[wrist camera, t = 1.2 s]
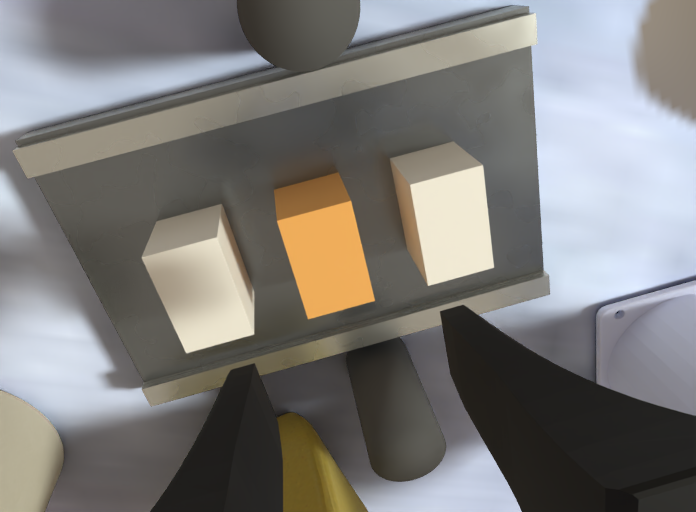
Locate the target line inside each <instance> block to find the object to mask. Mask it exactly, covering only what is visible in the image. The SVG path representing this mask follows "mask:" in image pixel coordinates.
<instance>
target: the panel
mask: <svg viewBox="0 0 696 512" xmlns="http://www.w3.org/2000/svg"><path fill="white" fill-rule="evenodd" d="M535 44H537V27H536V13H529V6H519V5H512V6H509V7H505V8H501V9H497V10H493V11H489V12H486V13H482V14H478V15H474V16H470V17H467V18H463V19H459V20H455V21H451V22H447V23H444V24H440V25H436V26H432V27H428V28H424V29H421V30H417V31H413V32H409V33H405V34H402V35H398V36H394V37H390V38H386V39H382V40H379V41H375V42H371V43H367V44H363V45H359V46H356V47H352V48H348V49H346V50H345V51H344V52H343V53H342V54H341V55H340V56H339V57H338V58H337V59H336V60H334V61H333V62H331V63H330V64H328V65H326V66H324V67H322V68H319V69H316V70H312V71H303V72H298V71H290V70H286V69H282V68H280V67H275V68H272V69H268V70H264V71H260V72H256V73H252V74H249V75H245V76H241V77H237V78H233V79H229V80H226V81H222V82H218V83H214V84H210V85H207V86H203V87H199V88H195V89H191V90H187V91H184V92H180V93H176V94H172V95H168V96H164V97H161V98H157V99H153V100H149V101H145V102H142V103H138V104H134V105H130V106H126V107H122V108H119V109H115V110H111V111H107V112H103V113H100V114H96V115H92V116H88V117H84V118H80V119H77V120H73V121H69V122H65V123H61V124H57V125H54V126H50V127H46V128H42V129H38V130H35V131H31V132H28V133H26V134H25V135H23V136H22V137H20V138H19V139H17V140H16V141H15V142H16V144H17V145H18V147H17V148H15V149H14V150H12V151H13V153H14V155H15V157H16V159H17V160H18V162H19V164H20V166H21V168H22V170H23V172H24V173H25V175H26V177H27V179H29V178H32V177H35V179H36V181H37V183H38V185H39V187H40V188H41V190H42V192H43V194H44V196H45V198H46V200H47V202H48V203H49V205H50V207H51V209H52V211H53V213H54V215H55V217H56V218H57V220H58V222H59V224H60V226H61V228H62V230H63V232H64V233H65V235H66V237H67V239H68V241H69V243H70V245H71V246H72V248H73V250H74V252H75V254H76V256H77V258H78V260H79V261H80V263H81V265H82V267H83V269H84V271H85V273H86V275H87V276H88V278H89V280H90V282H91V284H92V286H93V288H94V290H95V291H96V293H97V295H98V297H99V299H100V301H101V303H102V304H103V306H104V308H105V310H106V312H107V314H108V316H109V318H110V319H111V321H112V323H113V325H114V327H115V329H116V331H117V333H118V334H119V336H120V338H121V340H122V342H123V344H124V346H125V347H126V349H127V351H128V353H129V355H130V357H131V359H132V361H133V362H134V364H135V366H136V368H137V370H138V372H139V374H140V376H141V377H142V379H143V381H144V383H143V386H142V391H143V393H144V395H145V397H146V398H147V400H148V402H149V404H150V406H151V407H152V406H155V405H159V404H162V403H166V402H169V401H173V400H176V399H180V398H184V397H187V396H191V395H194V394H198V393H201V392H205V391H208V390H212V389H216V388H219V387H222V386H223V384H224V382H225V380H226V377H227V375H228V373H229V372H230V370H232V369H235V368H239V367H242V366H246V365H249V364H253V363H255V365H256V368H257V370H258V373H259V375H260V376H262V375H265V374H269V373H272V372H276V371H280V370H283V369H287V368H290V367H294V366H297V365H301V364H304V363H308V362H312V361H315V360H319V359H322V358H326V357H329V356H333V355H336V354H340V353H344V352H347V351H351V350H354V349H358V348H361V347H365V346H369V345H372V344H376V343H379V342H383V341H386V340H390V339H393V338H397V337H401V336H404V335H408V334H411V333H415V332H418V331H422V330H425V329H429V328H433V327H436V326H440V325H442V322H441V316H440V311H442V310H446V309H449V308H453V307H456V306H460V305H465V306H466V307H468V308H469V309H471V310H472V311H474V312H475V313H476V314H478V315H479V314H482V313H486V312H489V311H493V310H497V309H500V308H504V307H507V306H511V305H514V304H518V303H521V302H525V301H529V300H532V299H536V298H539V297H543V296H546V295H550V285H549V275H548V274H547V273H546V272H545V271H544V269H543V252H542V234H541V216H540V198H539V180H538V162H537V144H536V126H535V108H534V90H533V72H532V54H531V46H532V45H535ZM449 142H455V143H456V144H457V145H458V146H460V147H461V148H462V149H464V150H465V151H466V152H467V153H469V154H470V155H471V156H472V157H474V158H475V159H476V160H477V161H479V162H480V163H481V164H482V165H483V169H484V179H485V188H486V197H487V207H488V216H489V225H490V235H491V244H492V253H493V263H494V268H491V269H488V270H484V271H480V272H477V273H473V274H470V275H466V276H462V277H459V278H455V279H452V280H448V281H444V282H441V283H437V284H434V285H430V286H428V285H427V283H426V281H425V280H424V278H423V276H422V274H421V273H420V271H419V269H418V267H417V266H416V264H415V262H414V261H413V259H412V257H411V255H410V254H409V252H408V250H407V245H406V240H405V235H404V230H403V225H402V219H401V214H400V209H399V204H398V199H397V194H396V189H395V183H394V178H393V173H392V168H391V163H390V158H393V157H397V156H401V155H405V154H408V153H412V152H416V151H419V150H423V149H427V148H430V147H434V146H438V145H442V144H445V143H449ZM338 172H339V175H340V177H341V179H342V181H343V184H344V186H345V188H346V190H347V193H348V195H349V197H350V199H351V202H352V206H353V211H354V215H355V219H356V223H357V227H358V232H359V236H360V240H361V244H362V248H363V253H364V257H365V261H366V265H367V269H368V273H369V278H370V282H371V286H372V290H373V294H374V299H375V301H373V302H369V303H365V304H362V305H358V306H355V307H351V308H347V309H344V310H340V311H337V312H333V313H329V314H326V315H322V316H319V317H315V318H312V319H308V317H307V314H306V311H305V308H304V305H303V302H302V298H301V295H300V292H299V289H298V286H297V283H296V280H295V276H294V273H293V270H292V267H291V264H290V261H289V258H288V254H287V251H286V248H285V245H284V242H283V239H282V235H281V232H280V229H279V226H278V223H277V217H276V206H275V196H274V190H275V189H278V188H282V187H286V186H289V185H293V184H297V183H301V182H304V181H308V180H312V179H315V178H319V177H323V176H327V175H330V174H334V173H338ZM219 204H222V205H223V208H224V211H225V213H226V216H227V219H228V222H229V224H230V227H231V230H232V233H233V235H234V238H235V241H236V244H237V246H238V249H239V252H240V254H241V257H242V260H243V263H244V265H245V268H246V271H247V274H248V276H249V279H250V282H251V285H252V287H253V290H254V335H250V336H247V337H243V338H240V339H236V340H232V341H229V342H225V343H222V344H218V345H215V346H211V347H207V348H204V349H200V350H197V351H193V352H189V353H186V352H185V350H184V347H183V345H182V343H181V341H180V339H179V337H178V335H177V333H176V330H175V328H174V326H173V324H172V322H171V320H170V318H169V315H168V313H167V311H166V309H165V307H164V305H163V303H162V301H161V298H160V296H159V294H158V292H157V290H156V288H155V286H154V283H153V281H152V279H151V277H150V275H149V273H148V271H147V269H146V266H145V264H144V262H143V260H142V255H143V253H144V250H145V248H146V245H147V243H148V241H149V238H150V236H151V233H152V231H153V228H154V226H155V224H156V221H160V220H163V219H167V218H171V217H174V216H178V215H182V214H186V213H189V212H193V211H197V210H200V209H204V208H208V207H211V206H215V205H219Z"/></svg>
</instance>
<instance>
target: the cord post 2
mask: <svg viewBox="0 0 696 512" xmlns="http://www.w3.org/2000/svg"><path fill="white" fill-rule="evenodd" d="M346 364H347V368H348V372H349V377H350V381H351V385H352V389H353V393H354V397H355V402H356V406H357V410H358V414H359V418H360V422H361V426H362V431H363V435H364V439H365V443H366V447H367V451H368V455H369V460H370V464H371V467H372V469H373V470H374V472H375V473H376V474H377V475H379V476H380V477H382V478H384V479H387V480H390V481H398V482H402V481H410V480H414V479H417V478H420V477H422V476H424V475H426V474H428V473H429V472H431V471H432V470H433V469H435V468H436V467H437V466H438V465H439V463H440V462H441V461H442V459H443V457H444V455H445V451H446V443H445V439H444V437H443V434H442V432H441V430H440V427H439V425H438V422H437V420H436V418H435V415H434V413H433V410H432V408H431V406H430V403H429V401H428V398H427V396H426V394H425V391H424V389H423V386H422V384H421V382H420V379H419V377H418V374H417V372H416V370H415V367H414V365H413V362H412V360H411V358H410V355H409V353H408V350H407V348H406V346H405V344H404V342H403V341H402V340H401V339H400V338H399V337H397V338H393V339H390V340H386V341H383V342H379V343H376V344H372V345H369V346H365V347H361V348H358V349H354V350H351V351H348V354H347V358H346Z"/></svg>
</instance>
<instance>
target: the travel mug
mask: <svg viewBox="0 0 696 512" xmlns="http://www.w3.org/2000/svg"><path fill="white" fill-rule="evenodd" d="M63 462H64V450H63V445H62V442H61V439H60V437H59V435H58V433H57V431H56V429H55V428H54V426H53V425H52V424H51V423H50V421H49V420H48V419H47V418H46V417H45V416H44V415H43V414H42V413H41V412H39V411H38V410H37V409H36V408H34V407H33V406H31V405H30V404H28V403H27V402H25V401H23V400H22V399H20V398H18V397H15V396H13V395H11V394H9V393H6V392H4V391H1V390H0V512H45V510H46V507H47V505H48V502H49V500H50V497H51V495H52V492H53V490H54V487H55V485H56V482H57V480H58V477H59V475H60V472H61V470H62V467H63Z"/></svg>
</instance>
